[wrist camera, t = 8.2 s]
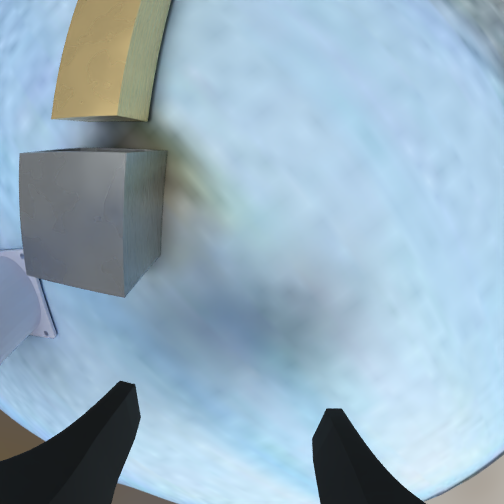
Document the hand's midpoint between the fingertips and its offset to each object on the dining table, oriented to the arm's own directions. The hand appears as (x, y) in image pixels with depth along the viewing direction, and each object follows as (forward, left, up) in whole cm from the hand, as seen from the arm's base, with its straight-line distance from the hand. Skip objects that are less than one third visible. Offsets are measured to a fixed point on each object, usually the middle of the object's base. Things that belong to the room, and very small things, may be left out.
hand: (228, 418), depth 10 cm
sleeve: (-8, +7, -10) cm, 14 cm away
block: (-5, +19, -9) cm, 22 cm away
